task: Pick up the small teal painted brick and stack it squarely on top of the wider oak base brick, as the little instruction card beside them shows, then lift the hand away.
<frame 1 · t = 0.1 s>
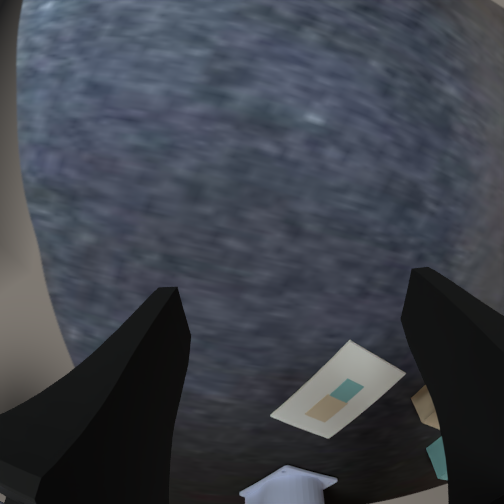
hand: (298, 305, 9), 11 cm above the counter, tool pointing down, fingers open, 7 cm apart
teal brick: (448, 439, 28), on the counter
instruction card: (338, 396, 24), on the counter
oak base brick: (447, 384, 25), on the counter
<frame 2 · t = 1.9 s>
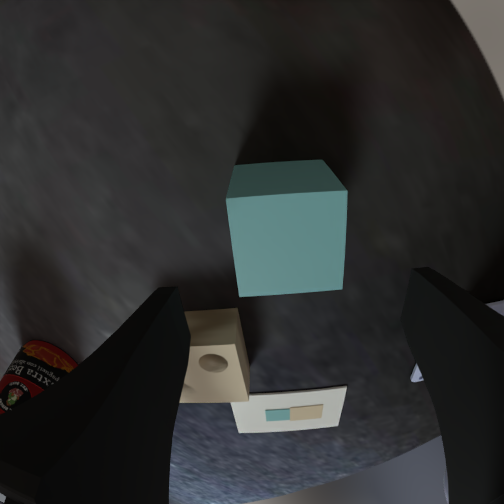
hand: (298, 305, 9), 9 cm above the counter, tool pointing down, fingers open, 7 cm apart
teal brick: (281, 202, 17), on the counter
instruction card: (288, 412, 27), on the counter
canned food: (55, 365, 25), on the counter
oak base brick: (203, 340, 22), on the counter
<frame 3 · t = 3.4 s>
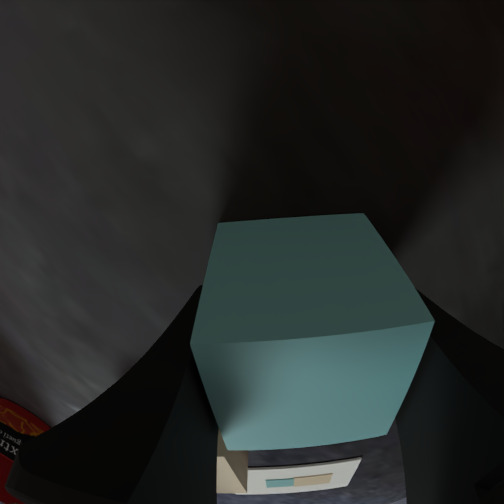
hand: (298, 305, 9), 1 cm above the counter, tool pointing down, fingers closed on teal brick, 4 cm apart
teal brick: (294, 279, 11), on the counter, touching gripper
instruction card: (292, 479, 21), on the counter
canned food: (27, 421, 19), on the counter
oak base brick: (188, 423, 16), on the counter
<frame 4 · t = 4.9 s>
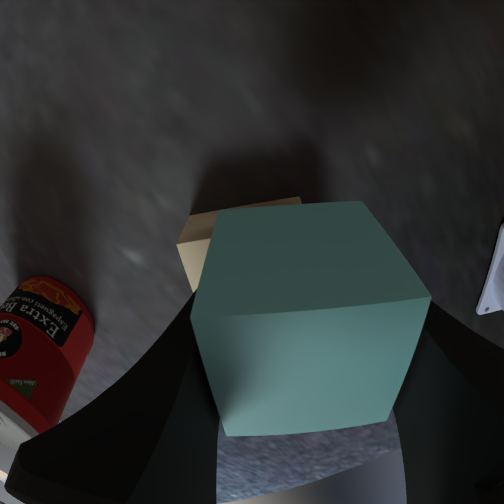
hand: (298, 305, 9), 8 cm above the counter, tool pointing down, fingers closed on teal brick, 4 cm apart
teal brick: (293, 266, 11), point 7 cm above the counter, touching gripper
canned food: (57, 312, 22), on the counter
oak base brick: (253, 251, 19), on the counter
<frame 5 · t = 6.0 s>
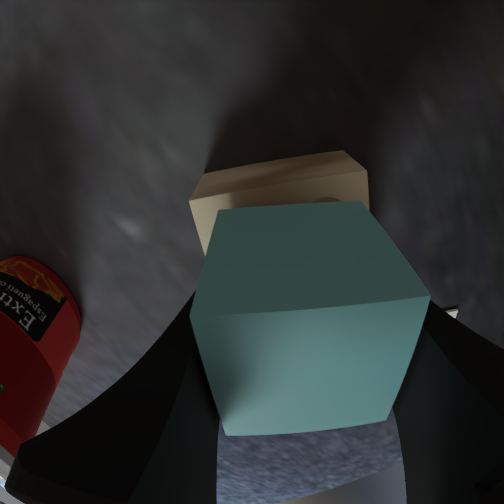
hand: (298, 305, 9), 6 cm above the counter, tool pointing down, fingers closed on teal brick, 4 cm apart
teal brick: (293, 266, 11), point 4 cm above the counter, touching gripper
canned food: (38, 301, 17), on the counter
oak base brick: (284, 222, 15), on the counter
when the fingers open (6 cm above the counter, at t = 6.5 s): teal brick stays where it is, resting on oak base brick.
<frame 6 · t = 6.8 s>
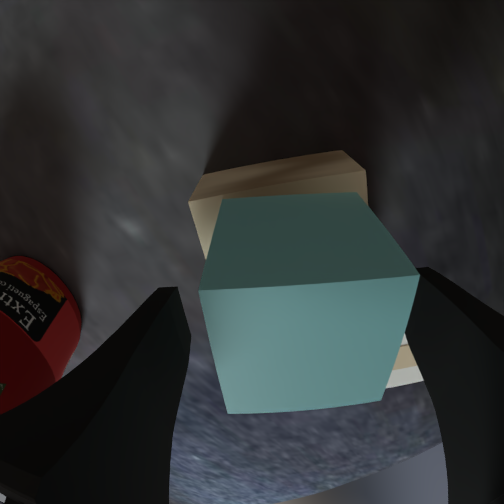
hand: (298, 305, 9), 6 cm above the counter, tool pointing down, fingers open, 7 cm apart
teal brick: (292, 254, 11), point 3 cm above the counter, touching oak base brick
instruction card: (379, 358, 19), on the counter
canned food: (38, 301, 17), on the counter
oak base brick: (283, 222, 15), on the counter, touching teal brick
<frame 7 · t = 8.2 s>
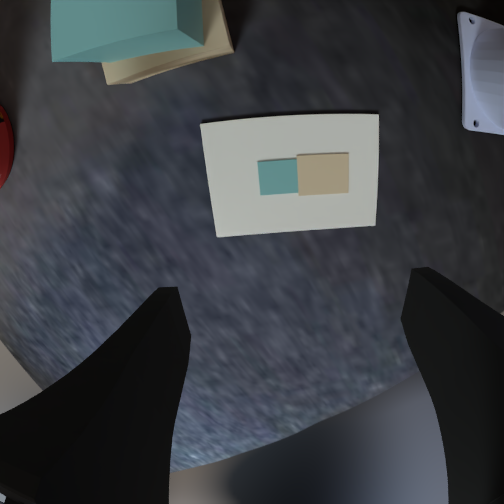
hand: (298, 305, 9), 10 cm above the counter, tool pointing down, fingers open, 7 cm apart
teal brick: (153, 10, 11), point 3 cm above the counter, touching oak base brick
instruction card: (295, 174, 18), on the counter
oak base brick: (170, 20, 14), on the counter, touching teal brick
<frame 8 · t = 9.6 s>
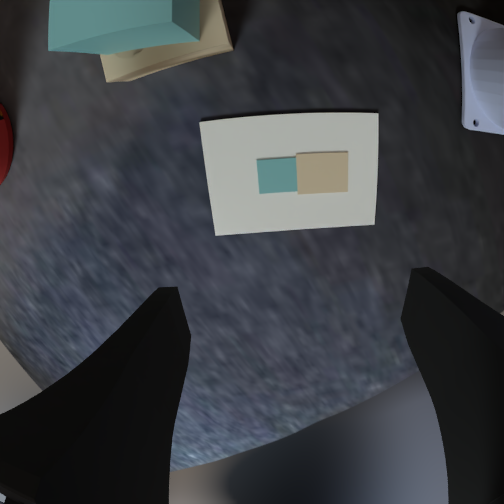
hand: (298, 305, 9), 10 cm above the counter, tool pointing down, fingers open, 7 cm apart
teal brick: (151, 4, 11), point 3 cm above the counter, touching oak base brick
instruction card: (294, 173, 18), on the counter
oak base brick: (169, 18, 14), on the counter, touching teal brick
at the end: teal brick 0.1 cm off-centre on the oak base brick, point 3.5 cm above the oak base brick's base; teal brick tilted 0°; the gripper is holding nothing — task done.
